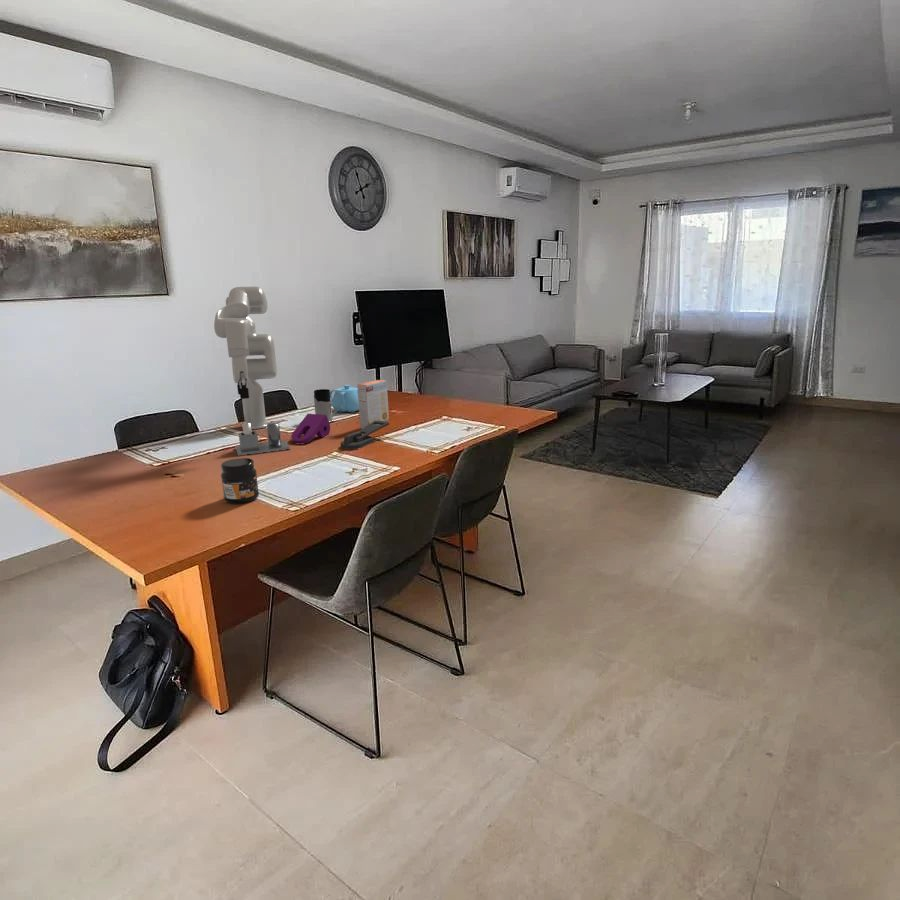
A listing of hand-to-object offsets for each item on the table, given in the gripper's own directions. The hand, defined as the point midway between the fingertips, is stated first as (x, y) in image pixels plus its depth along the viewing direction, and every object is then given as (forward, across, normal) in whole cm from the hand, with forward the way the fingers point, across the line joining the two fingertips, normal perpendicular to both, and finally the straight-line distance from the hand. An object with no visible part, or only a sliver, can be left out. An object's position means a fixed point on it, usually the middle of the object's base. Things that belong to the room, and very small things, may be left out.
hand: (243, 396), depth 234 cm
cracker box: (+23, -16, +57) cm, 63 cm away
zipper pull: (+22, +9, +46) cm, 52 cm away
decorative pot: (+23, -56, +55) cm, 82 cm away
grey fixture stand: (+22, 0, +5) cm, 23 cm away
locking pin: (+21, 0, 0) cm, 21 cm away
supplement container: (+22, +58, -8) cm, 62 cm away
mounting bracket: (+23, -7, +25) cm, 35 cm away
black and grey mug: (+23, -38, +41) cm, 60 cm away
